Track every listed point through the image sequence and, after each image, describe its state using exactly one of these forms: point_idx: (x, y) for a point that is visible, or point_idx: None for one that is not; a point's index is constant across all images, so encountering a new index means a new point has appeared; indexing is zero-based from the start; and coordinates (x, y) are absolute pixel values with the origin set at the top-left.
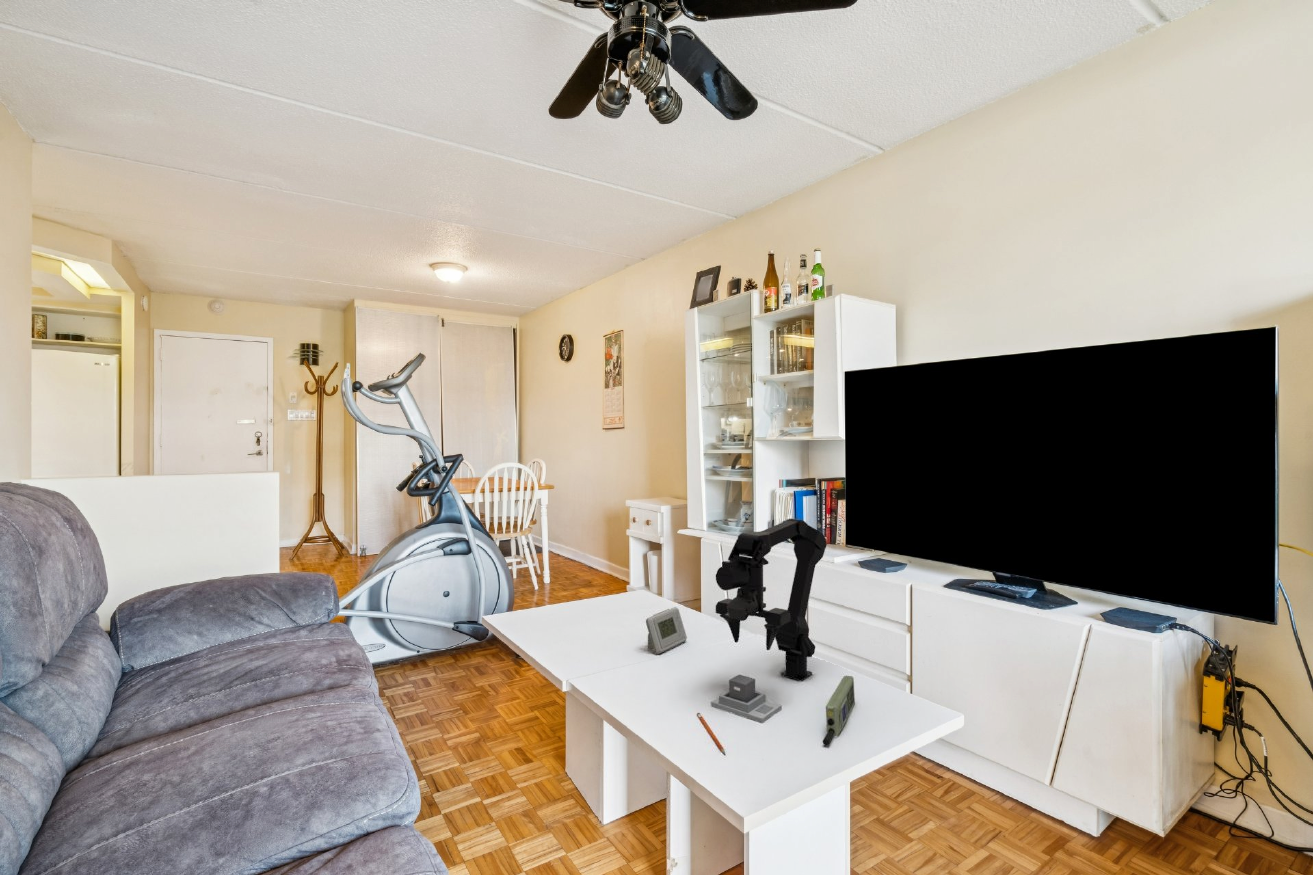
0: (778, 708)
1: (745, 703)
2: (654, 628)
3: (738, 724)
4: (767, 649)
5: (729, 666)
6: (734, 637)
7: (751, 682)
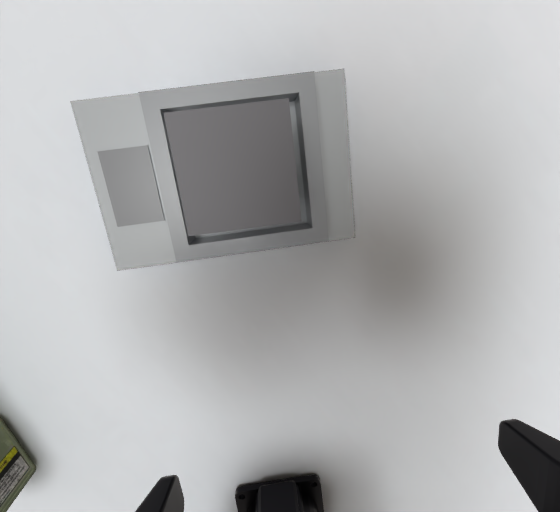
0: (112, 244)
1: (162, 99)
2: None
3: (136, 13)
4: (164, 479)
5: (498, 411)
6: (556, 450)
7: (181, 191)
